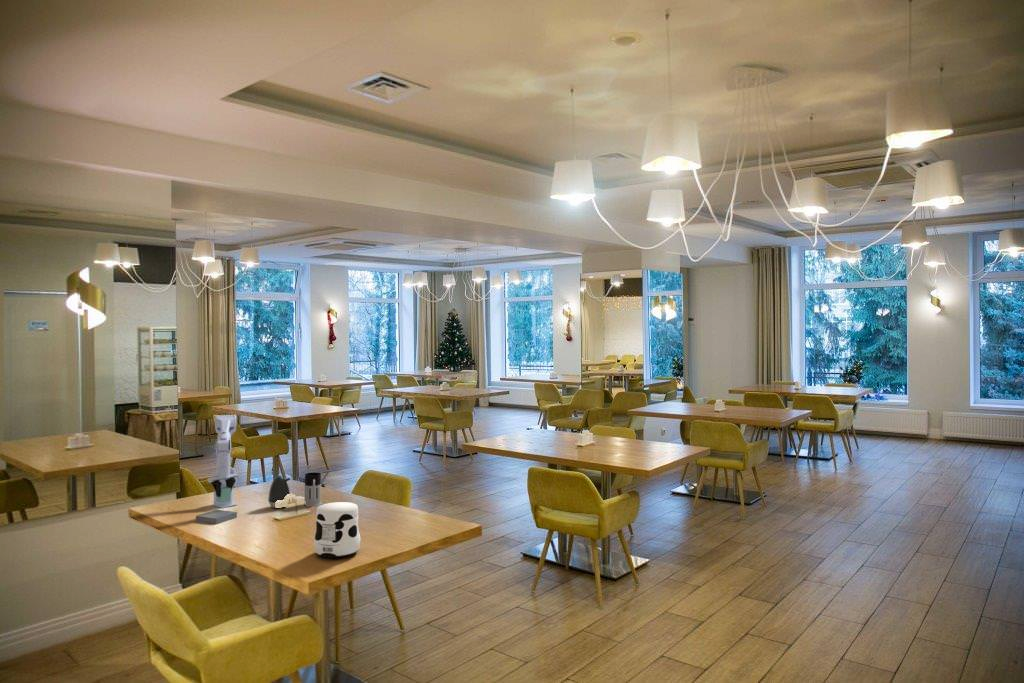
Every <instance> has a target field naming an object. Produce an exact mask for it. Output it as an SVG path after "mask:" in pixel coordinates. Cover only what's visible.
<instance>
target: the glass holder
mask: <svg viewBox="0 0 1024 683" xmlns="http://www.w3.org/2000/svg"><path fill="white" fill-rule="evenodd" d="M321 480H322V473H321V472H317V471H316V472H315V471H314V472H307V473H305V474H304V502H305V501H306V505H307V506H306V507H308V508H309V506H311V507H312V506H313V507H318V506H320V505H321V504H322V505H323V502H322V481H321ZM311 507H310V508H311Z"/></svg>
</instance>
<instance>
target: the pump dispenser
mask: <svg viewBox="0 0 1024 683" xmlns="http://www.w3.org/2000/svg"><path fill="white" fill-rule="evenodd" d="M288 481H291V477H288V478H285V476H282V475H277V476H276V477H274V479H273V480H272V483H271V484H270V487H269V493H268V502H269V505H270V507H271V508H273V509H275V508H274V507H275V502H276V501H277V500H283V499H284V497H285V496H286V495H287V494H290V495H291V491H290V487H289V486H290V485H289V483H288Z"/></svg>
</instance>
